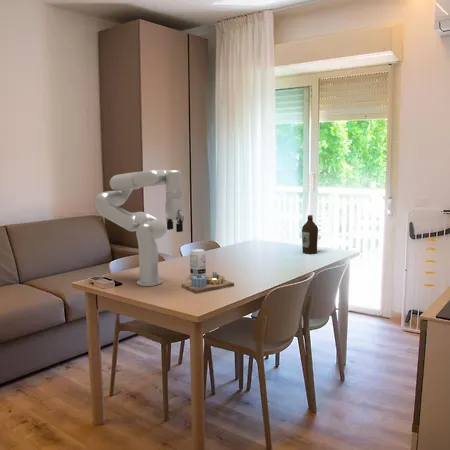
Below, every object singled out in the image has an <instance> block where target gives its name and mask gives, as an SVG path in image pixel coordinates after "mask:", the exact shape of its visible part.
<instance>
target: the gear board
mask: <svg viewBox="0 0 450 450" xmlns="http://www.w3.org/2000/svg"><path fill="white" fill-rule="evenodd" d="M197 278H201V275H197ZM181 287H182V288H183V289H185V290H187V291H190V292H192V293H194V294H200V293H201V294H202V293H205V292H210V291H216V290H221V289H227V288H232V287H235V282H232V281H230V280H227V279H225V282H224V283H223V284H220V285H219V284H217V285H209V284H207V285H206V286H205V287H193V286H192V281H191V282H185V283H182V284H181ZM226 287H227V288H226Z"/></svg>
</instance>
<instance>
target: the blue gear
mask: <svg viewBox="0 0 450 450" xmlns="http://www.w3.org/2000/svg"><path fill="white" fill-rule="evenodd" d="M206 276H207V275H206ZM206 276H201V278H197V276H193V277H192V278H191V282H192V286H193V287H205V286H206V285H207V281H206Z"/></svg>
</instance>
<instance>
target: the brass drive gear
mask: <svg viewBox="0 0 450 450" xmlns="http://www.w3.org/2000/svg"><path fill="white" fill-rule="evenodd" d="M225 280H226V279H225V276H224V275H219V274H218V273H217V272H216V271H214V272H212V275H206V281H207V284H209V285H217V284H219V285H220V284H223V283H224V282H225Z"/></svg>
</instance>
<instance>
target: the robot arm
mask: <svg viewBox="0 0 450 450" xmlns="http://www.w3.org/2000/svg"><path fill="white" fill-rule="evenodd" d="M164 185H165V196H166V198H165V205H164V207H165V208H164V209H165V210H164V211H165V213H164V214H165V216H164V217H165V220H166V224H165V223H164V221H162V220H161V219H160V218H157V217H155V216H154V215H151V214H149V213H148V212H144V211H136V212H131V211H127V210H126V209H124V208H122V207H120V206H122V205H123V204H125V202H126V201H127V200H128V198H129V197H130V195H131V194H132V192H133V190H139V189H141V188H145V187H146V188H147V187H154V186H164ZM109 187H110V188H111V189H112V190H110V191H103V192H100V193H98V194H97V195H96V197H95V200H94V204H95V205H94V206H95V208H96V210H97V212H98V213H99V215H100V216H102V217H103V218H105V219H106V220H109V221H111V222H112V223H114V224H116V225H117V226H119V227H121V228H124V229H125V230H127V231H128V232H135V233H136V235H135V236H136V239H137V244H138V263H139V264H138V265H139V267H138V268H139V279H138V280H137V282H136V284H137V285H138V286H142V287H154V286H159V285H161V284H162V283H163V282H162V279H161V278H160V277H159V275H160V274H159V272H160V271H159V251H158V245H157V242H156V240H157V239H161V238H163V237H164V236H165V235H166V234H167V231H168V230H174V221H176V224H175V228H176V229H175V231H176V233H181V232H183V231H184V227H183V226H184V225H183V224H184V221H185V220H184V218H185V215H184V214H183V203H182V202H183V200H182V199H183V196H182V195H183V194H182V193H183V191H182V189H183V188H182V172H181V170H178V169H176V170H175V169H150V170H144V171H143V170H142V171H135V172H134V171H133V172H126V173H119V174H116V175H113V176H112V177H111V178H110V180H109Z"/></svg>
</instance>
